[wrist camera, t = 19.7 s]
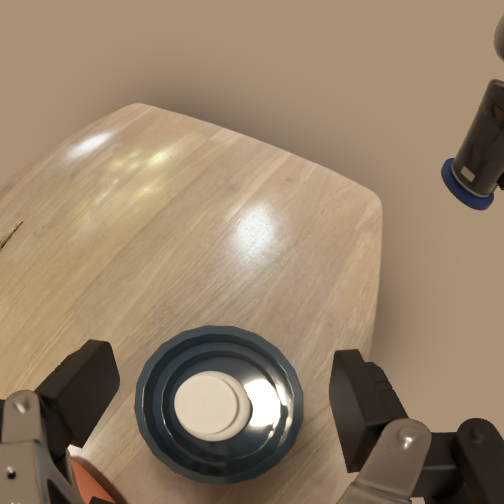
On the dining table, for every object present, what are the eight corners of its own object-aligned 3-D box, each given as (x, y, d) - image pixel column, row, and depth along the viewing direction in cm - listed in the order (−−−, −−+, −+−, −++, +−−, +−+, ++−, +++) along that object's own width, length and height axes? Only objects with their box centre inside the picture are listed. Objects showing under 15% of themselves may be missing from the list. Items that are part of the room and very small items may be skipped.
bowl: (294, 342, 28) (301, 325, 24) (294, 472, 21) (302, 485, 17) (162, 338, 29) (144, 321, 24) (153, 463, 22) (131, 470, 17)
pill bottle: (187, 423, 23) (151, 425, 15) (205, 374, 26) (180, 352, 18) (242, 443, 22) (232, 457, 14) (260, 391, 25) (260, 379, 17)
